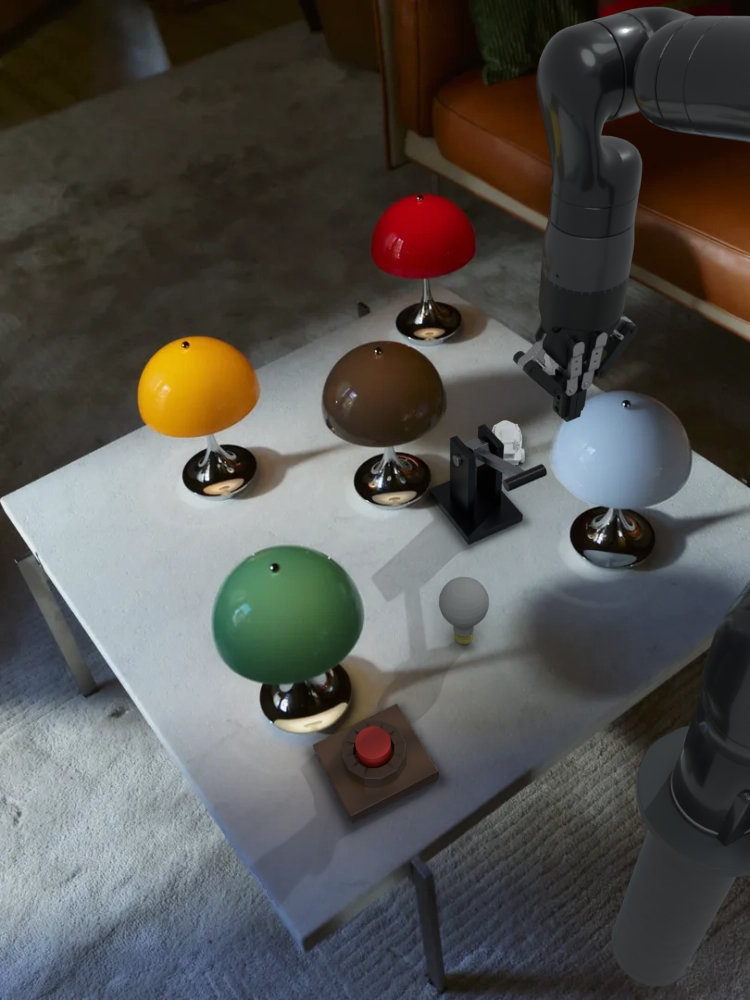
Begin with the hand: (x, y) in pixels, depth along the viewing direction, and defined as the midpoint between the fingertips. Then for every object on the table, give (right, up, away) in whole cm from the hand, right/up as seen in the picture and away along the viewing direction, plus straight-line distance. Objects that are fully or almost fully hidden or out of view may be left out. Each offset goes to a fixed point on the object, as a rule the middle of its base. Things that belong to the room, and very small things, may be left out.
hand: (567, 414), depth 94 cm
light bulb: (-9, -25, +15) cm, 30 cm away
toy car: (-1, -2, +36) cm, 36 cm away
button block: (-19, -36, +5) cm, 41 cm away
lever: (-4, -5, +18) cm, 19 cm away
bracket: (-6, -9, +29) cm, 31 cm away
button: (-19, -34, +2) cm, 39 cm away
